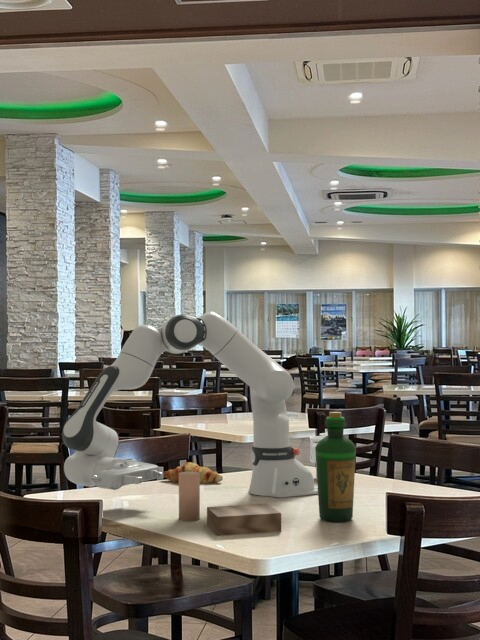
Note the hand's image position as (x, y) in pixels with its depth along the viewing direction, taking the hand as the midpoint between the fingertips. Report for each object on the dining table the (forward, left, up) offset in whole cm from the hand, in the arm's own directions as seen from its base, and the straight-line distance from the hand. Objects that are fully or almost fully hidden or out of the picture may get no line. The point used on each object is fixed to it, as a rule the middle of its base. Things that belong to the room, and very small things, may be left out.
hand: (151, 478), depth 220 cm
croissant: (-21, -46, -10) cm, 52 cm away
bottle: (-46, +20, -10) cm, 51 cm away
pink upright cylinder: (-9, +9, -10) cm, 16 cm away
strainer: (-65, -42, -10) cm, 78 cm away
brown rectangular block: (-20, +23, -10) cm, 32 cm away
